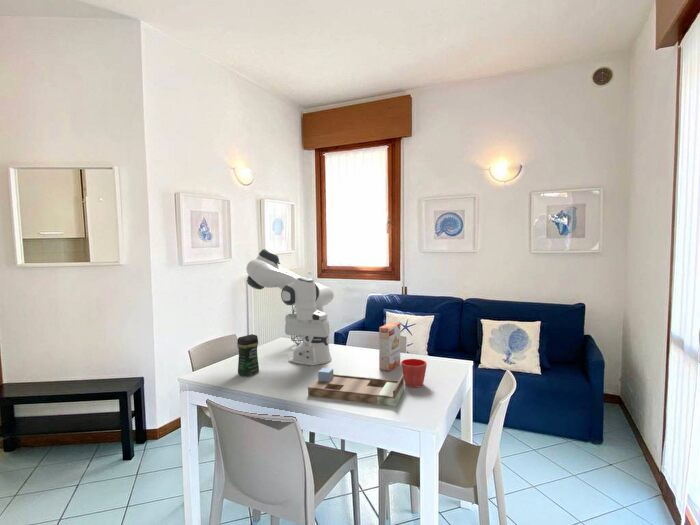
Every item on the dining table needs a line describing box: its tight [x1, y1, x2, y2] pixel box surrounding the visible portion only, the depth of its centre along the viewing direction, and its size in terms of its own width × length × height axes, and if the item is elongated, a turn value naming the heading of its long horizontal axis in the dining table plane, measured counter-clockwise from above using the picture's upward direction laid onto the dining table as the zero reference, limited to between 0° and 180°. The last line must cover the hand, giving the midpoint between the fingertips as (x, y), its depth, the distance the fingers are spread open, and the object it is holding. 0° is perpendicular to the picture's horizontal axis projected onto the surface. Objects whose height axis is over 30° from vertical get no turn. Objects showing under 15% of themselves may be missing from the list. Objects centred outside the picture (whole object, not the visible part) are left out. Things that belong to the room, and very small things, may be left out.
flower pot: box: [400, 358, 428, 388], centre depth 166 cm, size 11×11×10 cm
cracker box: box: [378, 321, 401, 372], centre depth 190 cm, size 14×6×21 cm, turn 150°
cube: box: [317, 367, 334, 382], centre depth 166 cm, size 5×5×4 cm
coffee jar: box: [236, 334, 260, 377], centre depth 184 cm, size 10×8×19 cm
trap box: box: [307, 373, 405, 407], centre depth 158 cm, size 36×17×6 cm, turn 71°
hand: (307, 345), depth 168 cm, fingers closed
